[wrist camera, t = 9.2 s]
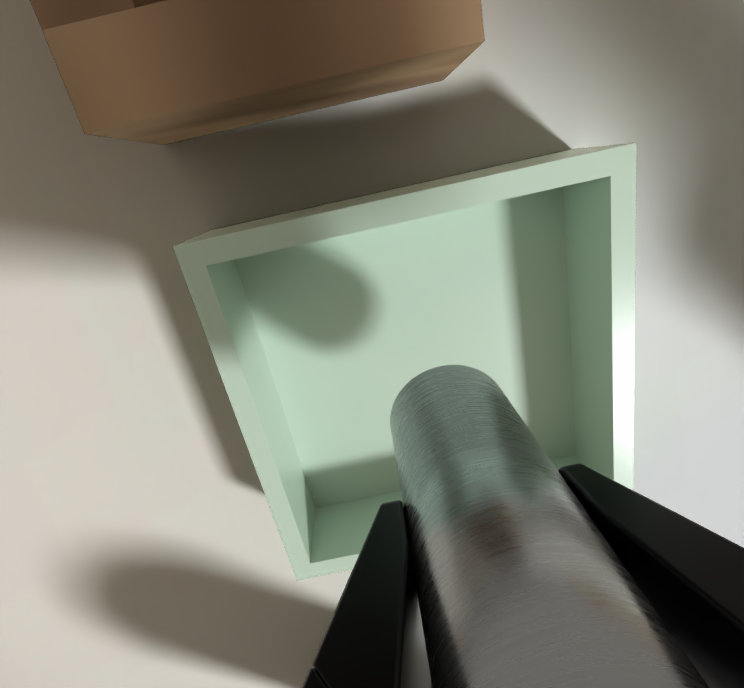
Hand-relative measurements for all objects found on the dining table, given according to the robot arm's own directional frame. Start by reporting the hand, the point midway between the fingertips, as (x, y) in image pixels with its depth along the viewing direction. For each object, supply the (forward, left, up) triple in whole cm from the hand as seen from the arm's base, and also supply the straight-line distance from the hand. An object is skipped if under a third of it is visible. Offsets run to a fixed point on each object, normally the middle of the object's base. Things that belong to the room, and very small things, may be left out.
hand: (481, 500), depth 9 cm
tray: (0, 0, -7) cm, 7 cm away
